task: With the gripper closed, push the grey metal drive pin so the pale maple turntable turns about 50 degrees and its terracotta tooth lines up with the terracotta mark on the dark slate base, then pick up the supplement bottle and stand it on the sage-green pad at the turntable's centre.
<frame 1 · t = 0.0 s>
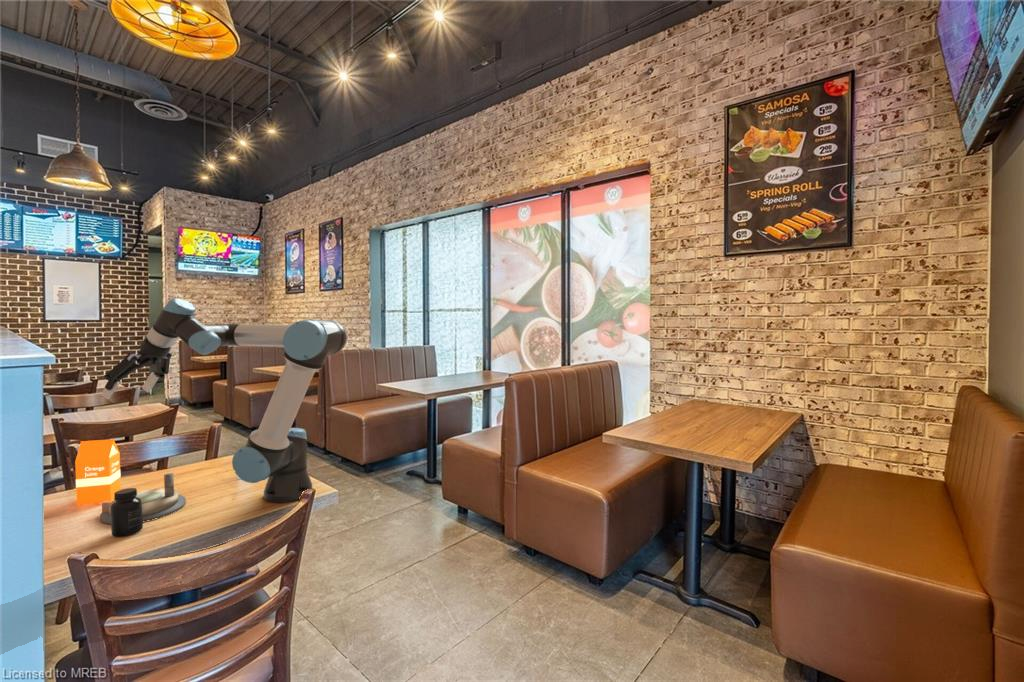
hand: (126, 393, 147), 36 cm above the table, tool tilted 35°, fingers open, 13 cm apart
base: (144, 510, 142), on the table
turntable: (144, 491, 142), point 6 cm above the table, hinge at 0.0°
orange juice: (99, 500, 150), on the table
supplement bottle: (127, 532, 128), on the table
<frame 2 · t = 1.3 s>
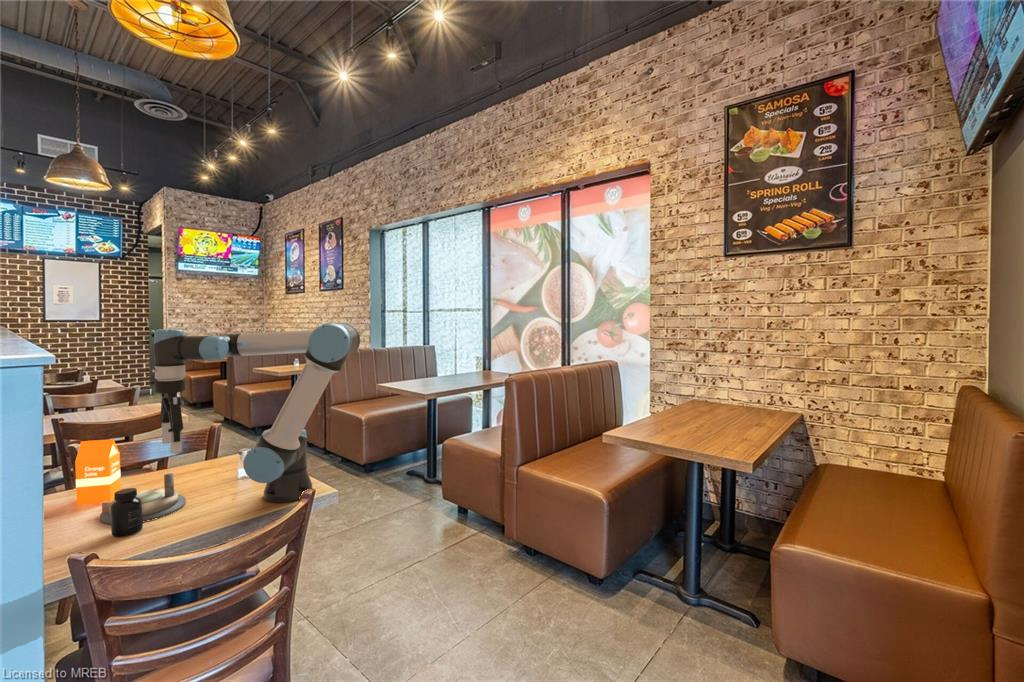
hand: (171, 447, 140), 21 cm above the table, tool pointing down, fingers open, 13 cm apart
nothing on the table moved.
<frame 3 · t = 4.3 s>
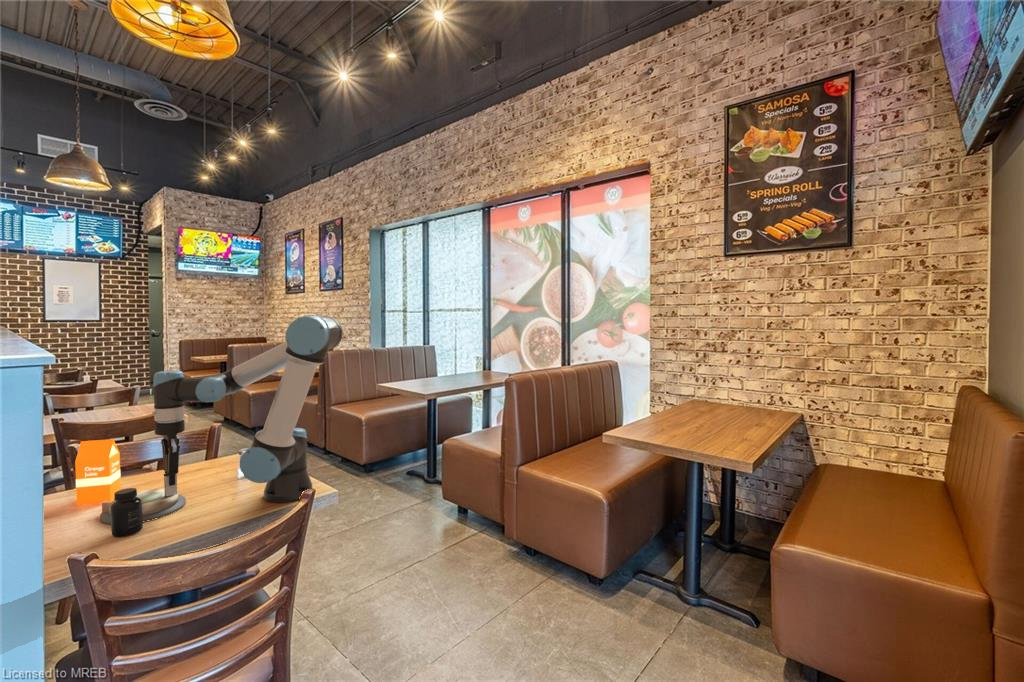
hand: (171, 494, 142), 5 cm above the table, tool pointing down, fingers closed
turntable: (144, 491, 142), point 6 cm above the table, hinge at 0.4°, touching gripper
everything else where it was.
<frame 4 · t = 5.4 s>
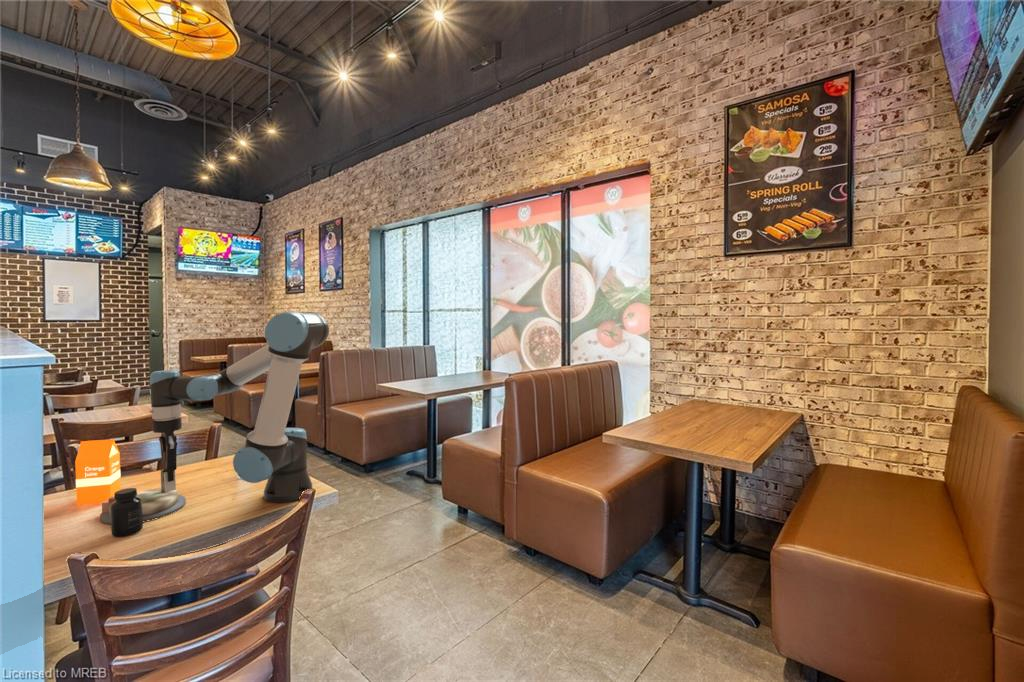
hand: (170, 490, 146), 5 cm above the table, tool pointing down, fingers closed
turntable: (144, 491, 142), point 6 cm above the table, hinge at 50.8°, touching gripper
everything else where it was.
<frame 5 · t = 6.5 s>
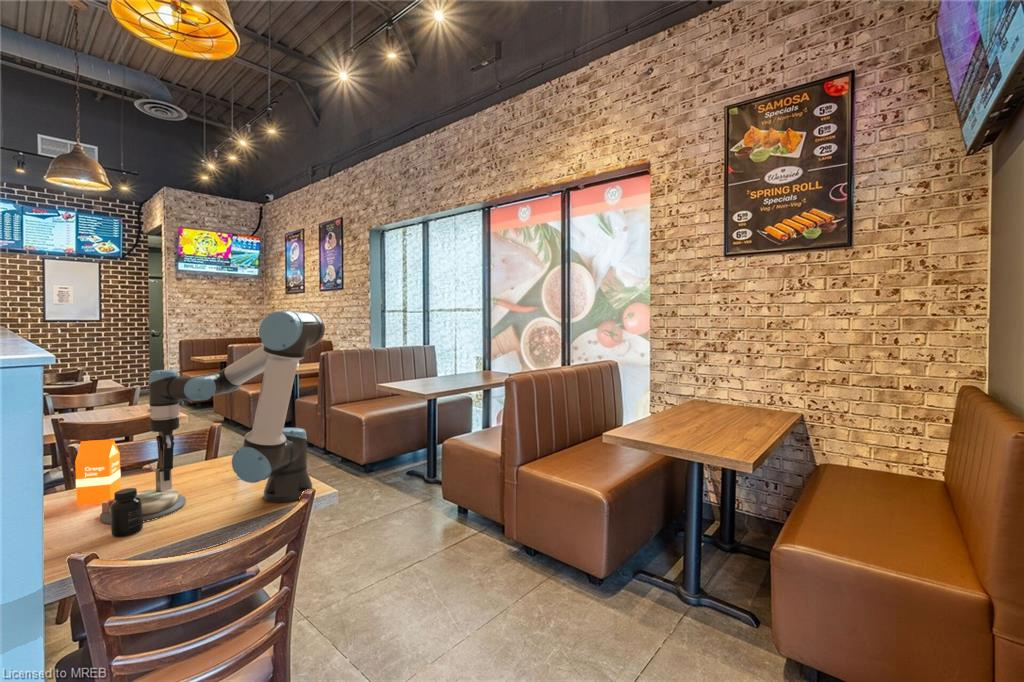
hand: (166, 489, 146), 5 cm above the table, tool pointing down, fingers closed
turntable: (144, 491, 142), point 6 cm above the table, hinge at 68.1°, touching gripper
everything else where it was.
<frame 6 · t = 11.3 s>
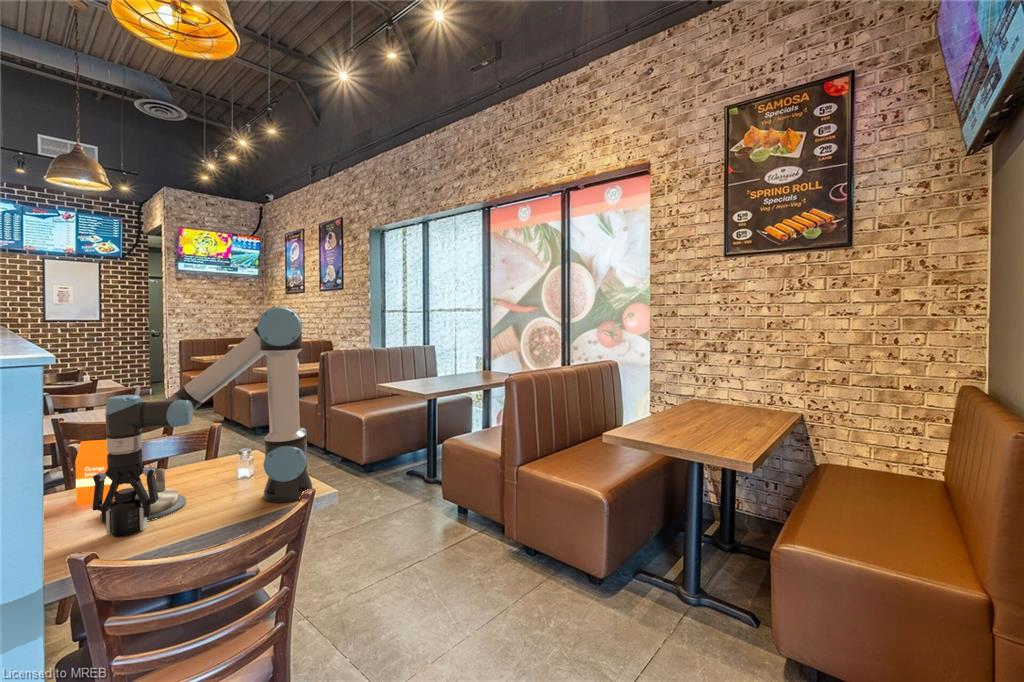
hand: (127, 530, 128), 1 cm above the table, tool pointing down, fingers closed on supplement bottle, 7 cm apart
turntable: (144, 491, 142), point 6 cm above the table, hinge at 68.3°
supplement bottle: (127, 532, 128), on the table, touching gripper
everything else where it was.
when the fingers open (6 cm above the table, at t = 15.5 s): supplement bottle drops 1 cm, resting on turntable.
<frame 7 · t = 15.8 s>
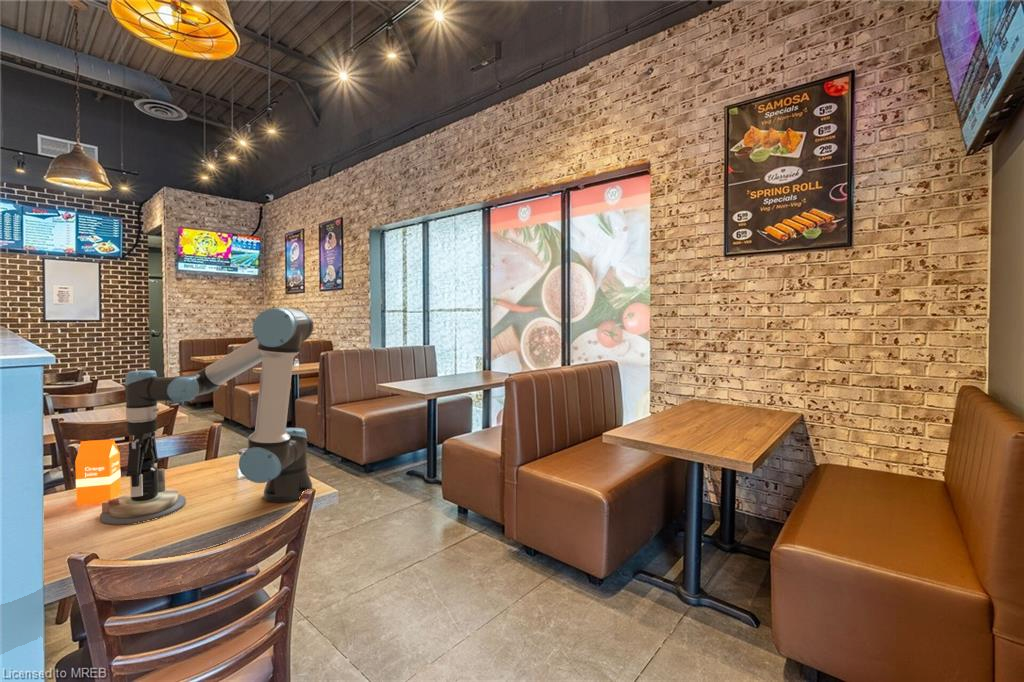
hand: (143, 490, 142), 7 cm above the table, tool pointing down, fingers open, 10 cm apart
turntable: (144, 491, 142), point 6 cm above the table, hinge at 68.3°, touching gripper, supplement bottle
supplement bottle: (144, 498, 142), point 4 cm above the table, touching turntable
everything else where it was.
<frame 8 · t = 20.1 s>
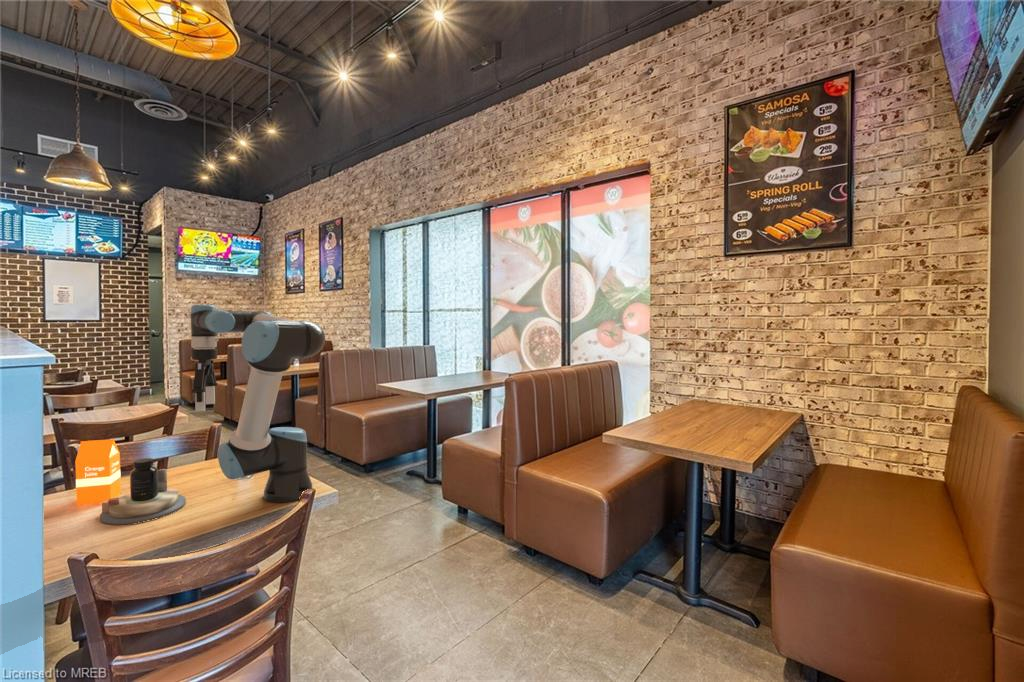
hand: (205, 407, 161), 29 cm above the table, tool pointing down, fingers open, 13 cm apart
turntable: (144, 491, 142), point 6 cm above the table, hinge at 62.3°, touching supplement bottle
everything else where it was.
at the end: turntable at +62° (first picture: +0°); supplement bottle 0.1 cm from the turntable (horizontally); supplement bottle tilted 0° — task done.
